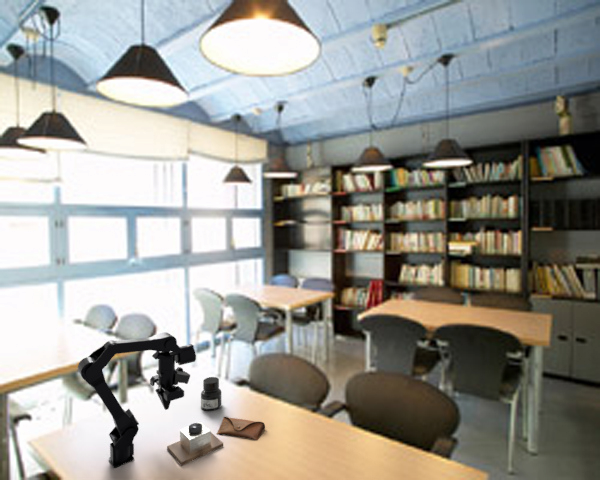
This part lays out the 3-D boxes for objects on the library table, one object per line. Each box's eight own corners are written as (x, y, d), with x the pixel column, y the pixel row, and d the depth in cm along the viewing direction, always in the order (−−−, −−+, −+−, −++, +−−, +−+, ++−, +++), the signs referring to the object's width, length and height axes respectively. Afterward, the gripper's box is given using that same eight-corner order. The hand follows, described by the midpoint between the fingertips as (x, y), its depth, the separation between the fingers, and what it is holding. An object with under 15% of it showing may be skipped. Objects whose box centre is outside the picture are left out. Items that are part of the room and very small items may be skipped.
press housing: (190, 454, 125) (189, 439, 125) (180, 444, 131) (180, 429, 131) (210, 445, 131) (210, 430, 131) (200, 435, 137) (200, 421, 136)
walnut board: (181, 465, 121) (181, 462, 121) (167, 449, 130) (167, 446, 130) (223, 446, 132) (223, 443, 132) (207, 432, 141) (207, 429, 141)
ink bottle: (196, 409, 158) (196, 382, 157) (207, 400, 166) (206, 374, 166) (215, 413, 155) (215, 385, 155) (225, 403, 164) (225, 377, 163)
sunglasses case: (214, 434, 139) (218, 415, 142) (220, 434, 145) (224, 416, 148) (258, 440, 135) (261, 421, 138) (263, 440, 141) (266, 421, 145)
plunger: (192, 448, 128) (192, 431, 127) (186, 442, 131) (186, 426, 131) (204, 443, 131) (204, 426, 131) (198, 437, 134) (198, 421, 134)
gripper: (198, 370, 131) (197, 412, 132) (177, 355, 145) (177, 393, 146) (167, 378, 124) (167, 422, 125) (149, 362, 138) (149, 402, 139)
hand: (166, 409), depth 134 cm, fingers closed
